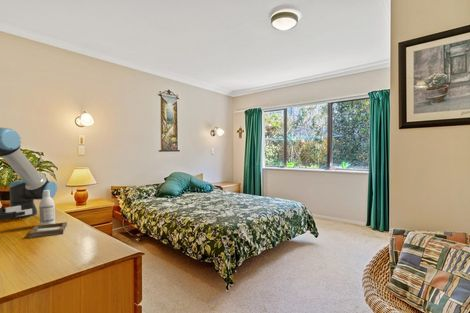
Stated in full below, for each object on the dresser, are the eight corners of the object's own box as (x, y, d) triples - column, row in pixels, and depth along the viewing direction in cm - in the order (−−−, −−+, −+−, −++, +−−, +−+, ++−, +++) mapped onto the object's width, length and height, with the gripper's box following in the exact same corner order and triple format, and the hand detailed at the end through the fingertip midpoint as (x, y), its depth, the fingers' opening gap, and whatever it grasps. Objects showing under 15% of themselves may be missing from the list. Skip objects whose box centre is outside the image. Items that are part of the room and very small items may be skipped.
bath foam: (43, 224, 144) (41, 189, 143) (57, 222, 146) (55, 189, 145) (37, 227, 137) (36, 191, 137) (52, 226, 139) (51, 191, 139)
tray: (35, 229, 134) (35, 225, 134) (67, 226, 140) (66, 222, 140) (28, 238, 121) (28, 233, 121) (63, 233, 128) (63, 229, 128)
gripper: (-39, 223, 121) (16, 213, 139) (-22, 231, 108) (37, 220, 127) (-39, 207, 121) (16, 200, 139) (-22, 214, 108) (36, 205, 126)
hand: (26, 209), depth 133 cm, fingers open, 13 cm apart
